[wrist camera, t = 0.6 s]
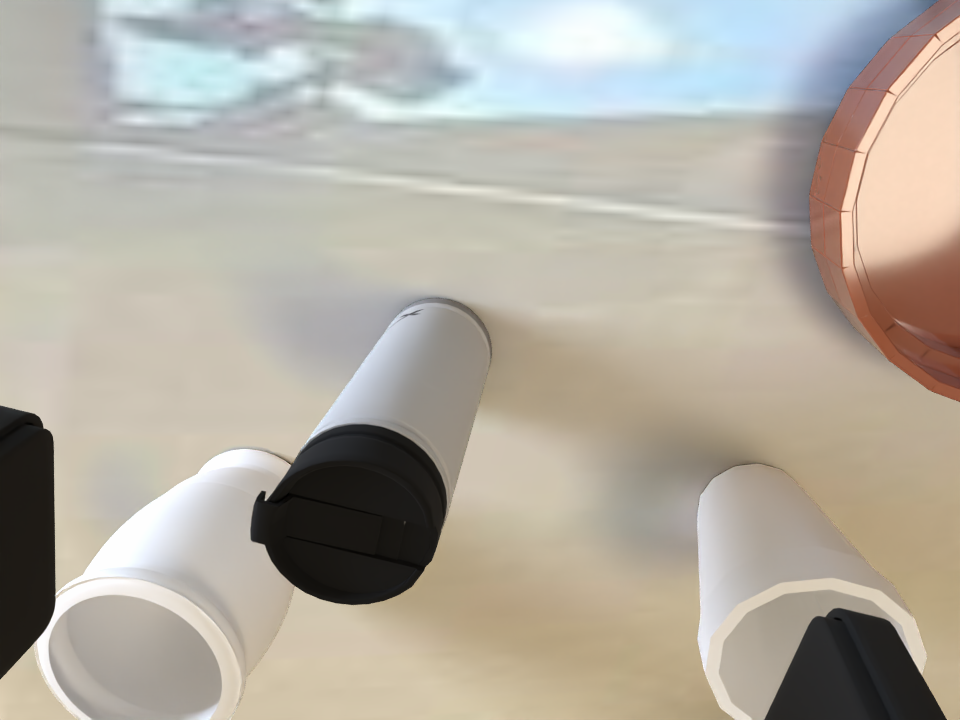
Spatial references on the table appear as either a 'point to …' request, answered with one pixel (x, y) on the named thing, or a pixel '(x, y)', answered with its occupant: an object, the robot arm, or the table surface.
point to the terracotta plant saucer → (898, 201)
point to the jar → (172, 604)
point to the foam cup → (775, 584)
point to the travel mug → (381, 462)
